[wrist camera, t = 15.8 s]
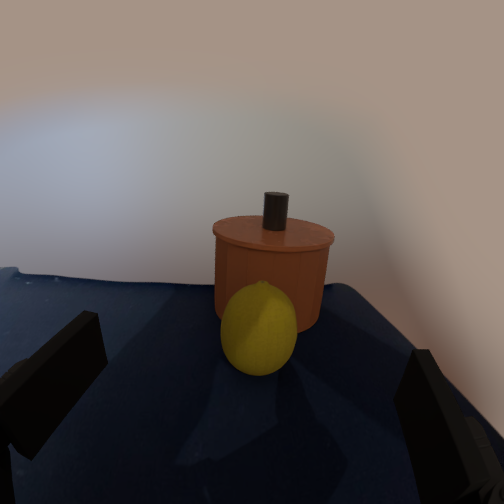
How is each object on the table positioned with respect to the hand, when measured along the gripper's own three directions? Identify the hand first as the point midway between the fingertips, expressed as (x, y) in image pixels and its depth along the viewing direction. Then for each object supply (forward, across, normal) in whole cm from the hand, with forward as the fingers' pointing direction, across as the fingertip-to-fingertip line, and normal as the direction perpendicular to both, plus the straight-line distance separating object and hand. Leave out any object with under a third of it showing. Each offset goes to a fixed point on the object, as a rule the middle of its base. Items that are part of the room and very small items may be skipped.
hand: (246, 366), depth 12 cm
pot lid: (+21, 0, 0) cm, 21 cm away
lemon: (+10, 0, -9) cm, 13 cm away
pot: (+21, 0, -9) cm, 23 cm away
